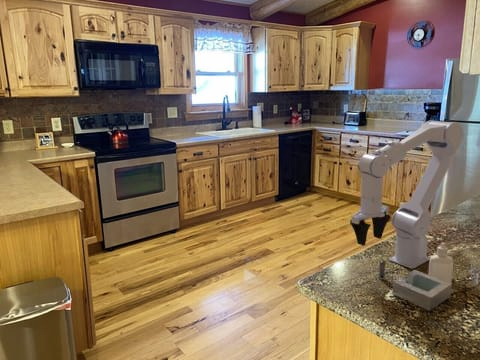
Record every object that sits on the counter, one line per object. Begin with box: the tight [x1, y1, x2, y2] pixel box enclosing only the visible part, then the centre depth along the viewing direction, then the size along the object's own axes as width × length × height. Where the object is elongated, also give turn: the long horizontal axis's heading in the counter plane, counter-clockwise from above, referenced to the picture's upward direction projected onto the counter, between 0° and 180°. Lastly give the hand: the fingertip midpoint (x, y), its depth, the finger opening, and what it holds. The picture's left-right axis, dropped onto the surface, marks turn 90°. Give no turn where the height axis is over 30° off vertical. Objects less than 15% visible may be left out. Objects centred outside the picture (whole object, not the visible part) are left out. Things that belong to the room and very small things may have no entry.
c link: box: [391, 269, 453, 311], centre depth 97 cm, size 10×10×4 cm
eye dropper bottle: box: [427, 242, 454, 284], centre depth 102 cm, size 4×6×12 cm
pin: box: [378, 259, 387, 279], centre depth 107 cm, size 2×2×5 cm
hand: (369, 240), depth 110 cm, fingers open, 7 cm apart
